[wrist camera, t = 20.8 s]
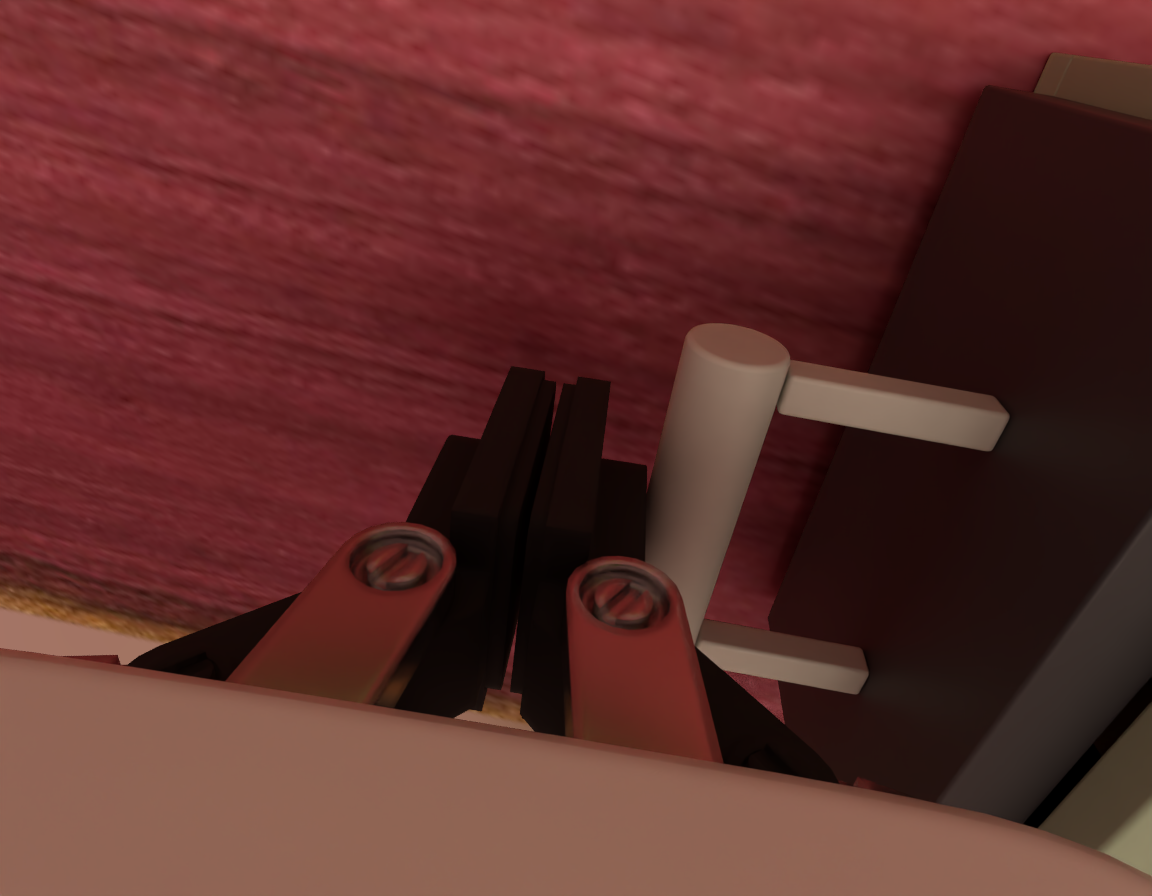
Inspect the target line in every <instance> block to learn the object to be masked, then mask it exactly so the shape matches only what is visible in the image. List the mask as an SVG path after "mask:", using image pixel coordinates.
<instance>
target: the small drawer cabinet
mask: <svg viewBox="0 0 1152 896" xmlns="http://www.w3.org/2000/svg"><path fill="white" fill-rule="evenodd" d="M1034 93H1038V94H1044V95H1050V96H1055V97H1059V98H1063V99H1068V100H1072V101H1076V102H1080V103H1084V104H1088V105H1092V106H1096V107H1100V108H1104V109H1108V110H1112V111H1116V112H1120V113H1125V114H1129V115H1133V116H1137V117H1141V118H1145V119H1149V120H1152V65H1146V64H1138V63H1130V62H1123V61H1115V60H1108V59H1100V58H1093V57H1085V56H1077V55H1070V54H1062V53H1052V54H1051V55H1050V57H1049V59H1048V61H1047V63H1046V66H1045V68H1044V70H1043V72H1042V75H1041V77H1040V79H1039V81H1038V84H1037V86H1036V88H1035V90H1034ZM1037 829H1040V830H1044V831H1047V832H1049V833H1052V834H1055V835H1057V836H1060V837H1063V838H1065V839H1068V840H1071V841H1073V842H1076V843H1079V844H1081V845H1084V846H1086V847H1089V848H1092V849H1094V850H1097V851H1100V852H1102V853H1105V854H1107V855H1109V856H1112V857H1114V858H1116V859H1118V860H1120V861H1122V862H1124V863H1126V864H1128V865H1130V866H1132V867H1134V868H1136V869H1138V870H1140V871H1142V872H1144V873H1146V874H1148V875H1150V876H1152V701H1151V703H1150V704H1149V705H1148V706H1147V707H1146V708H1145V709H1144V710H1143V712H1142V713H1141V714H1140V715H1139V716H1138V717H1137V718H1136V719H1135V720H1134V722H1133V723H1132V724H1131V725H1130V726H1129V727H1128V728H1127V729H1126V730H1125V732H1124V733H1123V734H1122V735H1121V736H1120V737H1119V738H1118V739H1117V740H1116V742H1115V743H1114V744H1113V745H1112V746H1111V747H1110V748H1109V749H1108V750H1107V752H1106V753H1105V754H1104V755H1103V756H1102V757H1101V758H1100V759H1099V760H1098V762H1097V763H1096V764H1095V765H1094V766H1093V767H1092V768H1091V769H1090V770H1089V772H1088V773H1087V774H1086V775H1085V776H1084V777H1083V778H1082V779H1081V780H1080V782H1079V783H1078V784H1077V785H1076V786H1075V787H1074V788H1073V789H1072V791H1071V792H1070V793H1069V794H1068V795H1067V796H1066V797H1065V798H1064V799H1063V801H1062V802H1061V803H1060V804H1059V805H1058V806H1057V807H1056V808H1055V809H1054V811H1053V812H1052V813H1051V814H1050V815H1049V816H1048V817H1047V818H1046V819H1045V821H1044V822H1043V823H1042V824H1041V825H1040V826H1039V827H1038V828H1037Z"/></svg>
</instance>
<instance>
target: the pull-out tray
mask: <svg viewBox="0 0 1152 896" xmlns="http://www.w3.org/2000/svg"><path fill="white" fill-rule="evenodd" d="M776 405H777V408H778V412H779V413H781V414H783V415H789V416H794V417H800V418H805V419H811V420H816V421H822V422H827V423H833V424H838V425H844V426H846V427H845V430H844V432H843V435H842V437H841V440H840V442H839V444H838V447H837V449H836V452H835V454H834V457H833V459H832V462H831V464H830V466H829V469H828V471H827V474H826V476H825V479H824V481H823V484H822V486H821V489H820V491H819V493H818V496H817V498H816V501H815V503H814V506H813V508H812V511H811V513H810V516H809V518H808V520H807V523H806V525H805V528H804V530H803V533H802V535H801V538H800V540H799V542H798V545H797V547H796V550H795V552H794V555H793V557H792V560H791V562H790V565H789V567H788V569H787V572H786V574H785V577H784V579H783V582H782V584H781V587H780V589H779V591H778V594H777V596H776V599H775V601H774V604H773V606H772V609H771V611H770V614H769V616H768V622H769V628H770V631H768V630H763V629H757V628H752V627H746V626H741V625H736V624H730V623H725V622H719V621H714V620H709V619H704V616H705V613H706V610H707V607H708V604H709V601H710V598H711V595H712V593H713V590H714V587H715V584H716V581H717V578H718V575H719V572H720V569H721V566H722V563H723V560H724V557H725V554H726V551H727V548H728V545H729V542H730V540H731V537H732V534H733V531H734V528H735V525H736V522H737V519H738V516H739V513H740V510H741V507H742V504H743V501H744V498H745V495H746V492H747V489H748V487H749V484H750V481H751V478H752V475H753V472H754V469H755V466H756V463H757V460H758V457H759V454H760V451H761V448H762V445H763V442H764V439H765V437H766V434H767V431H768V428H769V425H770V422H771V419H772V416H773V413H774V410H775V407H776ZM645 562H646V563H649V564H651V565H653V566H655V567H656V568H658V569H659V570H661V571H662V572H664V573H665V574H667V575H668V576H669V578H670V579H671V580H672V581H673V582H674V583H675V584H676V585H677V587H678V589H679V592H680V594H681V596H682V598H683V602H684V606H685V610H686V614H687V618H688V622H689V626H690V630H691V634H692V638H693V642H694V645H695V646H696V647H697V648H698V649H699V650H700V651H701V652H702V653H704V654H705V655H706V656H707V657H708V658H709V659H710V660H712V661H713V662H714V663H715V664H716V665H717V666H718V667H720V668H721V669H722V670H726V671H732V672H737V673H742V674H748V675H753V676H759V677H764V678H769V679H775V680H778V684H779V690H780V696H781V703H782V709H783V715H784V721H785V725H786V726H787V727H788V728H789V729H790V730H791V731H792V732H794V733H795V734H796V735H797V736H798V737H799V738H800V739H802V740H803V741H804V742H805V743H806V744H807V745H808V746H809V747H811V748H812V749H813V750H814V751H815V752H816V753H817V754H818V755H819V756H820V757H821V758H822V759H823V760H824V761H825V762H826V764H827V765H828V766H829V767H830V768H831V769H832V771H833V772H834V774H835V776H836V778H837V779H838V780H840V781H843V782H846V783H848V784H851V785H853V784H854V783H855V781H856V779H857V777H858V776H859V777H861V778H864V779H867V780H869V781H872V782H875V783H878V784H880V785H883V786H886V787H889V788H891V789H894V790H897V791H899V792H902V793H905V794H908V795H910V796H913V797H916V798H919V799H921V800H924V801H928V802H933V803H937V804H942V805H947V806H951V807H956V808H961V809H966V810H971V811H976V812H980V813H985V814H989V815H992V816H996V817H999V818H1003V819H1006V820H1009V821H1013V822H1016V823H1020V824H1023V825H1027V826H1030V827H1033V828H1038V827H1039V826H1040V825H1041V824H1042V823H1043V822H1044V821H1045V819H1046V818H1047V817H1048V816H1049V815H1050V814H1051V813H1052V812H1053V811H1054V809H1055V808H1056V807H1057V806H1058V805H1059V804H1060V803H1061V802H1062V801H1063V799H1064V798H1065V797H1066V796H1067V795H1068V794H1069V793H1070V792H1071V791H1072V789H1073V788H1074V787H1075V786H1076V785H1077V784H1078V783H1079V782H1080V780H1081V779H1082V778H1083V777H1084V776H1085V775H1086V774H1087V773H1088V772H1089V770H1090V769H1091V768H1092V767H1093V766H1094V765H1095V764H1096V763H1097V762H1098V760H1099V759H1100V758H1101V756H1100V754H1099V752H1098V750H1097V749H1096V747H1095V745H1094V742H1095V741H1096V740H1097V739H1098V737H1099V736H1100V735H1101V734H1102V733H1103V732H1104V731H1105V729H1106V728H1107V727H1108V726H1109V725H1110V724H1111V723H1112V721H1113V720H1114V719H1115V718H1116V717H1117V716H1118V715H1119V713H1120V712H1121V711H1122V710H1123V709H1124V708H1125V707H1126V705H1127V704H1128V703H1129V702H1130V701H1131V700H1132V699H1133V697H1134V696H1135V695H1136V694H1137V693H1138V692H1139V691H1140V689H1141V688H1142V687H1143V686H1144V685H1145V684H1146V683H1147V681H1148V680H1149V679H1150V678H1151V677H1152V120H1149V119H1145V118H1141V117H1137V116H1133V115H1129V114H1125V113H1120V112H1116V111H1112V110H1108V109H1104V108H1100V107H1096V106H1092V105H1088V104H1084V103H1080V102H1076V101H1072V100H1068V99H1063V98H1059V97H1055V96H1050V95H1044V94H1038V93H1032V92H1027V91H1021V90H1015V89H1009V88H1003V87H998V86H992V85H988V86H985V88H984V89H983V91H982V94H981V96H980V99H979V101H978V104H977V106H976V109H975V111H974V114H973V116H972V118H971V121H970V123H969V126H968V128H967V131H966V133H965V136H964V138H963V141H962V143H961V145H960V148H959V150H958V153H957V155H956V158H955V160H954V163H953V165H952V167H951V170H950V172H949V175H948V177H947V180H946V182H945V185H944V187H943V190H942V192H941V194H940V197H939V199H938V202H937V204H936V207H935V209H934V212H933V214H932V216H931V219H930V221H929V224H928V226H927V229H926V231H925V234H924V236H923V239H922V241H921V243H920V246H919V248H918V251H917V253H916V256H915V258H914V261H913V263H912V266H911V268H910V270H909V273H908V275H907V278H906V280H905V283H904V285H903V288H902V290H901V292H900V295H899V297H898V300H897V302H896V305H895V307H894V310H893V312H892V315H891V317H890V319H889V322H888V324H887V327H886V329H885V332H884V334H883V337H882V339H881V341H880V344H879V346H878V349H877V351H876V354H875V356H874V359H873V361H872V364H871V366H870V368H869V371H868V373H862V372H857V371H851V370H845V369H840V368H834V367H829V366H823V365H817V364H812V363H806V362H801V361H795V360H790V354H789V352H788V350H787V349H786V348H785V347H784V346H783V345H782V344H781V343H780V342H778V341H777V340H775V339H773V338H772V337H770V336H768V335H766V334H763V333H761V332H758V331H756V330H753V329H750V328H746V327H742V326H738V325H732V324H722V323H709V324H701V325H698V326H695V327H693V328H692V329H691V330H690V331H689V332H688V333H687V335H686V337H685V340H684V344H683V349H682V353H681V357H680V361H679V365H678V369H677V373H676V377H675V381H674V385H673V389H672V393H671V397H670V401H669V405H668V410H667V414H666V418H665V422H664V426H663V430H662V434H661V438H660V442H659V446H658V450H657V454H656V458H655V462H654V466H653V470H652V475H651V479H650V483H649V487H648V491H647V495H646V543H645Z"/></svg>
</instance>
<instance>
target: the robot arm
mask: <svg viewBox="0 0 1152 896" xmlns="http://www.w3.org/2000/svg"><path fill="white" fill-rule="evenodd" d="M610 385H611V382H610V381H604V380H597V379H590V378H584V377H578V379H577V384H576V385H572V384H565V383H564V384H563V388H562V392H561V396H560V400H559V404H558V408H557V412H556V416H555V420H554V424H553V428H552V432H551V426H552V417H553V409H554V401H555V392H556V382H554V381H547V380H545V371H540V370H533V369H527V368H520V367H514V366H511V368H510V370H509V372H508V375H507V377H506V380H505V382H504V384H503V387H502V389H501V392H500V394H499V396H498V399H497V401H496V404H495V406H494V408H493V411H492V413H491V416H490V418H489V420H488V423H487V425H486V428H485V430H484V432H483V435H482V437H481V439H475V438H469V437H463V436H456V435H450V436H449V437H448V438H447V440H446V442H445V444H444V446H443V448H442V450H441V452H440V454H439V456H438V458H437V460H436V462H435V464H434V466H433V468H432V470H431V472H430V474H429V476H428V478H427V480H426V482H425V484H424V486H423V488H422V490H421V492H420V494H419V496H418V498H417V500H416V502H415V504H414V506H413V508H412V510H411V512H410V514H409V516H408V518H407V520H406V522H393V523H384V524H380V525H376V526H371V527H369V528H367V529H365V530H362V531H360V532H358V533H356V534H354V535H353V536H352V537H351V538H350V539H349V540H347V541H346V542H345V543H344V544H343V545H342V546H341V547H340V548H339V550H338V551H337V552H336V553H335V554H334V555H333V557H332V558H331V559H330V560H329V561H328V562H327V563H326V565H325V566H324V567H323V568H322V569H321V570H320V572H319V573H318V574H317V575H316V576H315V577H314V579H313V580H312V581H311V582H310V583H309V584H308V586H307V587H306V588H305V589H304V590H303V591H302V592H301V593H298V594H295V595H293V596H290V597H287V598H285V599H282V600H279V601H277V602H274V603H271V604H269V605H266V606H264V607H261V608H258V609H256V610H253V611H250V612H248V613H245V614H242V615H240V616H237V617H234V618H232V619H229V620H227V621H224V622H221V623H219V624H216V625H213V626H211V627H208V628H205V629H203V630H200V631H197V632H195V633H192V634H189V635H187V636H184V637H182V638H179V639H176V640H174V641H171V642H168V643H166V644H163V645H160V646H158V647H156V648H154V649H152V650H150V651H148V652H146V653H144V654H142V655H141V656H138V657H137V658H136V659H134V660H133V661H132V662H131V663H129V664H128V665H121V664H120V661H119V658H118V655H98V656H96V655H95V656H54V655H47V654H41V653H34V652H26V651H17V650H10V649H1V648H0V896H1152V876H1150V875H1148V874H1146V873H1144V872H1142V871H1140V870H1138V869H1136V868H1134V867H1132V866H1130V865H1128V864H1126V863H1124V862H1122V861H1120V860H1118V859H1116V858H1114V857H1112V856H1109V855H1107V854H1105V853H1102V852H1100V851H1097V850H1094V849H1092V848H1089V847H1086V846H1084V845H1081V844H1079V843H1076V842H1073V841H1071V840H1068V839H1065V838H1063V837H1060V836H1057V835H1055V834H1052V833H1049V832H1047V831H1044V830H1040V829H1037V828H1033V827H1030V826H1027V825H1023V824H1020V823H1016V822H1013V821H1009V820H1006V819H1003V818H999V817H996V816H992V815H989V814H985V813H980V812H976V811H971V810H966V809H961V808H956V807H951V806H947V805H942V804H937V803H933V802H928V801H924V800H921V799H919V798H916V797H913V796H910V795H908V794H905V793H902V792H899V791H897V790H894V789H891V788H889V787H886V786H883V785H880V784H878V783H875V782H872V781H869V780H867V779H864V778H861V777H859V776H858V777H857V779H856V781H855V783H854V784H853V785H851V784H848V783H846V782H843V781H840V780H838V779H837V778H836V776H835V774H834V772H833V771H832V769H831V768H830V767H829V766H828V765H827V764H826V762H825V761H824V760H823V759H822V758H821V757H820V756H819V755H818V754H817V753H816V752H815V751H814V750H813V749H812V748H811V747H809V746H808V745H807V744H806V743H805V742H804V741H803V740H802V739H800V738H799V737H798V736H797V735H796V734H795V733H794V732H792V731H791V730H790V729H789V728H788V727H787V726H786V725H784V724H783V723H782V722H781V721H780V720H779V719H778V718H776V717H775V716H774V715H773V714H772V713H771V712H770V711H769V710H767V709H766V708H765V707H764V706H763V705H762V704H761V703H759V702H758V701H757V700H756V699H755V698H754V697H753V696H751V695H750V694H749V693H748V692H747V691H746V690H745V689H743V688H742V687H741V686H740V685H739V684H738V683H737V682H735V681H734V680H733V679H732V678H731V677H730V676H729V675H728V674H726V673H725V672H724V671H723V670H722V669H721V668H720V667H718V666H717V665H716V664H715V663H714V662H713V661H712V660H710V659H709V658H708V657H707V656H706V655H705V654H704V653H702V652H701V651H700V650H699V649H698V648H697V647H696V646H695V645H694V642H693V638H692V634H691V630H690V626H689V622H688V618H687V614H686V610H685V606H684V602H683V598H682V596H681V594H680V592H679V589H678V587H677V585H676V584H675V583H674V582H673V581H672V580H671V579H670V578H669V576H668V575H667V574H665V573H664V572H662V571H661V570H659V569H658V568H656V567H655V566H653V565H651V564H649V563H646V562H645V543H646V493H647V466H646V465H641V464H635V463H628V462H622V461H615V460H609V459H602V450H603V442H604V434H605V425H606V417H607V409H608V401H609V393H610ZM550 434H551V436H550ZM517 621H518V624H517ZM516 625H517V634H516V643H515V652H514V661H513V670H512V679H511V689H510V692H514V693H520V694H522V701H521V709H520V715H521V716H522V718H523V719H525V721H526V722H527V723H528V724H529V725H530V727H531V728H532V729H533V730H534V731H535V732H532V731H527V730H521V729H514V728H508V727H502V726H496V725H490V724H484V723H478V722H472V721H466V720H460V719H454V718H455V717H456V716H458V715H460V714H462V713H464V712H465V711H467V710H469V709H471V710H477V711H482V708H483V704H484V700H485V696H486V692H487V688H492V689H498V690H501V688H502V685H503V681H504V677H505V672H506V668H507V664H508V659H509V655H510V651H511V647H512V642H513V638H514V634H515V629H516Z"/></svg>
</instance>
